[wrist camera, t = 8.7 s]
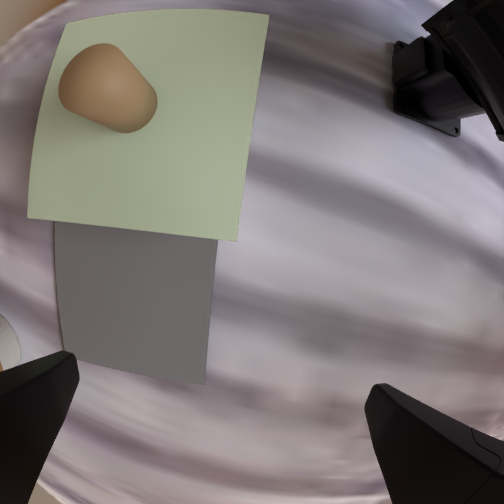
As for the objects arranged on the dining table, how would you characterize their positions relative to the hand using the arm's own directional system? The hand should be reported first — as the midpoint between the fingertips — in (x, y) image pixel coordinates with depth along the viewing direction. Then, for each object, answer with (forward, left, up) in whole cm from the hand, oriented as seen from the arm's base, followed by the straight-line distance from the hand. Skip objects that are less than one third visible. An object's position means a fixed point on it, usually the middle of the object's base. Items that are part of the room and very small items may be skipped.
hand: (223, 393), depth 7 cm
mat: (+7, +3, -12) cm, 14 cm away
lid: (+6, -9, -8) cm, 13 cm away
